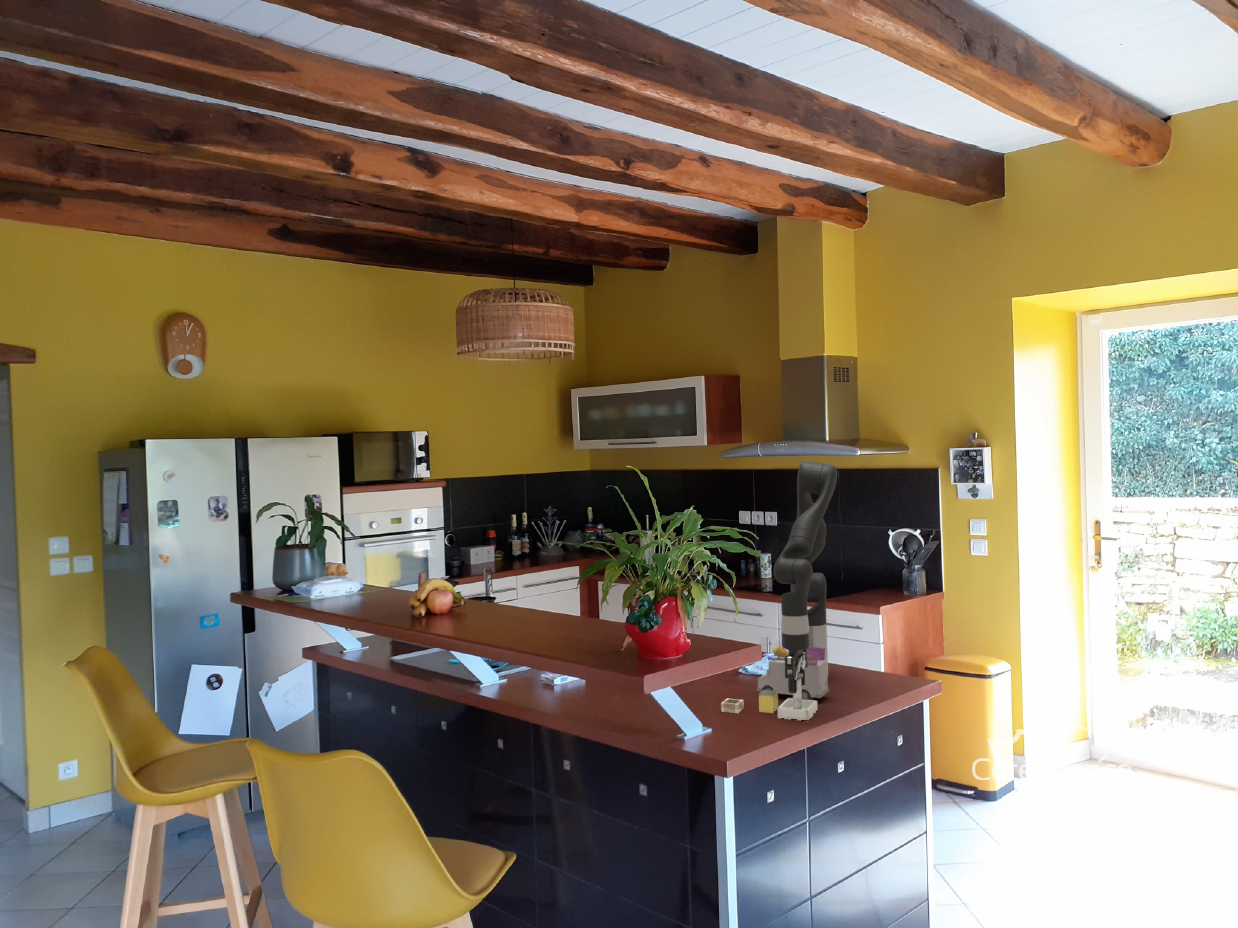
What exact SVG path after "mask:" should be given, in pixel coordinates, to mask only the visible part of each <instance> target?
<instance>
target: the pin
mask: <svg viewBox="0 0 1238 928" xmlns="http://www.w3.org/2000/svg"><path fill="white" fill-rule="evenodd" d="M790 674H792V673H790ZM802 677H803V673H801V672H798V673H797V692H796V693H793V695H792V698H793V709H801V710H802V689H801V678H802Z"/></svg>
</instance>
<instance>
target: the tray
mask: <svg viewBox="0 0 1238 928" xmlns="http://www.w3.org/2000/svg"><path fill="white" fill-rule="evenodd" d="M786 698H787V699H785V700H784V701H783V702H782V703H781V704H780V705H778V708H777V719H781V718H784V720H791V719H797V720H796V721H801V720H809V719H810V718H813V716H814V715H815V714H816V713H817V712H818V711H819V709H818V700H814V699H813V700H811V699H810V700H805V699H802V710H801V709H793V697H786ZM817 710H818V711H817ZM816 711H817V712H816ZM814 713H815V714H814ZM813 714H814V715H813ZM810 720H811V719H810ZM810 720H809V721H810Z"/></svg>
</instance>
